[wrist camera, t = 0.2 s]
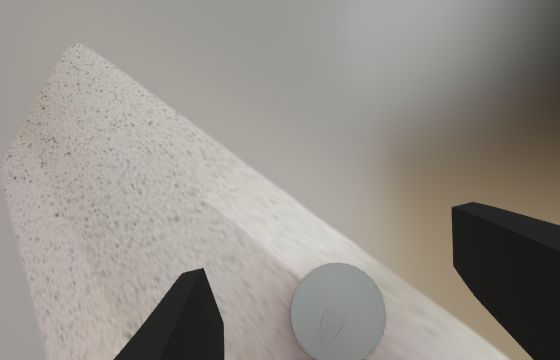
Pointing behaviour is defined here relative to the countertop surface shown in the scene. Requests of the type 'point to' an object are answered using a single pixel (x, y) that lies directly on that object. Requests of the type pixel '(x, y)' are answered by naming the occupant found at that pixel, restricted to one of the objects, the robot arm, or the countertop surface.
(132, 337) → the robot arm
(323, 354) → the canned food
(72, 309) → the countertop surface
